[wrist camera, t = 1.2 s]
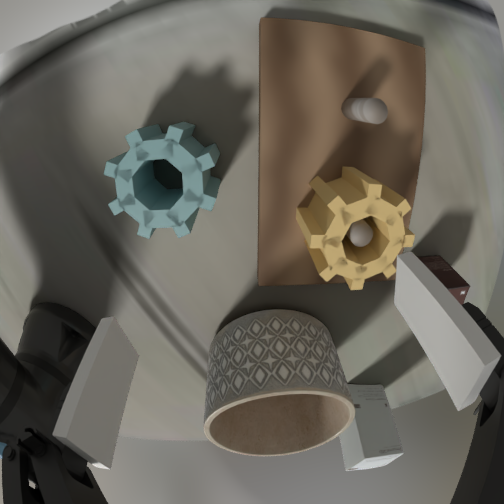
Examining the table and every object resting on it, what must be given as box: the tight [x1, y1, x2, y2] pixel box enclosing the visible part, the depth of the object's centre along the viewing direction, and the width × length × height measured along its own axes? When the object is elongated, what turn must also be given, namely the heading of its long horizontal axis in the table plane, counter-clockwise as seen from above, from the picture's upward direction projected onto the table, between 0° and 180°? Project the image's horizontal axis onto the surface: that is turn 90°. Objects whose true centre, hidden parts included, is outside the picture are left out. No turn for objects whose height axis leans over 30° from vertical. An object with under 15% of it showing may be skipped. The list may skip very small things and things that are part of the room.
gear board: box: [257, 18, 426, 286], centre depth 23 cm, size 16×26×7 cm, turn 0°
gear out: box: [296, 166, 415, 290], centre depth 24 cm, size 9×9×6 cm
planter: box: [204, 309, 356, 456], centre depth 32 cm, size 16×16×13 cm
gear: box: [104, 122, 221, 239], centre depth 23 cm, size 9×9×6 cm
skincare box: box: [339, 384, 404, 471], centre depth 38 cm, size 8×6×15 cm
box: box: [417, 256, 470, 305], centre depth 30 cm, size 6×6×7 cm
